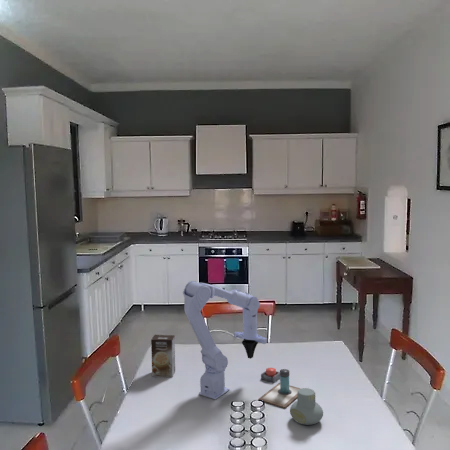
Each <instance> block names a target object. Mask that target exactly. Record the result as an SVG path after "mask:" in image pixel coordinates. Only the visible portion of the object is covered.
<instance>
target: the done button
mask: <svg viewBox="0 0 450 450" xmlns="http://www.w3.org/2000/svg"><path fill="white" fill-rule="evenodd" d="M265 371H266V375H269V376H272V377H274V376H275V375H276V371H277V369H276V368H274V367H268V368H266V369H265Z"/></svg>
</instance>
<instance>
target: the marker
mask: <svg viewBox="0 0 450 450" xmlns="http://www.w3.org/2000/svg"><path fill="white" fill-rule="evenodd" d="M279 372H280V378H279V383H280V392H281V393H284V394H287V393H289V385H290V370H289V369H288V368H287V369H286V368H284V369H280V370H279Z"/></svg>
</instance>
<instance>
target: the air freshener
mask: <svg viewBox="0 0 450 450" xmlns="http://www.w3.org/2000/svg"><path fill="white" fill-rule="evenodd" d="M289 413H290V416H291V417H292V419H293V420H294V421H295V422H296V423H298V424H301V425H305V426H309V425H315V424H317V423H319V422H320V421H321V420H322V419H323V417H324V410H323V408H322V406H321V405H320V403H317V402H316V391H315V390H313V389H312V388H309V387H301V389H299V390H298V392H297V399H296V400H295V401H293V402H292V403H291V406H290V409H289Z"/></svg>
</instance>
